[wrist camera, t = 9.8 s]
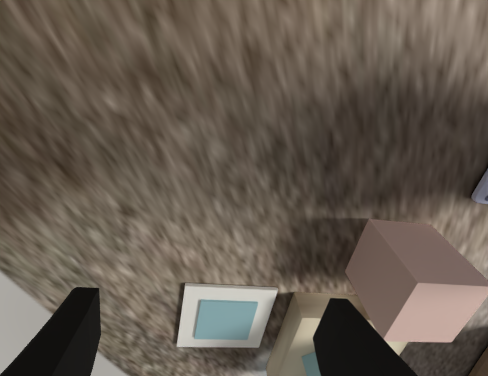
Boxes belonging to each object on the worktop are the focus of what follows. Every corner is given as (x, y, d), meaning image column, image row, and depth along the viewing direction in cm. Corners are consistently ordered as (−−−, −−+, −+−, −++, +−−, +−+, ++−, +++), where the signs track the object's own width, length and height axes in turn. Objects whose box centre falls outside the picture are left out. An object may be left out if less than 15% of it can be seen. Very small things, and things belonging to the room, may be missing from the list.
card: (277, 287, 25) (278, 292, 24) (258, 344, 28) (259, 349, 28) (185, 282, 24) (185, 288, 23) (177, 343, 27) (176, 349, 26)
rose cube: (430, 224, 24) (494, 287, 18) (401, 274, 26) (451, 342, 21) (368, 218, 23) (418, 282, 17) (344, 270, 25) (381, 341, 20)
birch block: (401, 292, 28) (422, 321, 25) (359, 362, 33) (373, 393, 30) (292, 286, 26) (302, 317, 23) (264, 361, 31) (270, 394, 28)
